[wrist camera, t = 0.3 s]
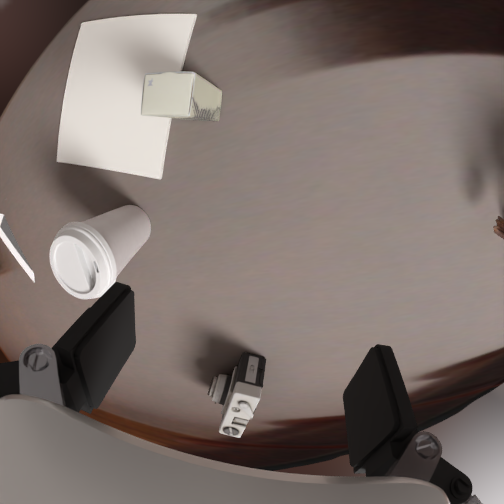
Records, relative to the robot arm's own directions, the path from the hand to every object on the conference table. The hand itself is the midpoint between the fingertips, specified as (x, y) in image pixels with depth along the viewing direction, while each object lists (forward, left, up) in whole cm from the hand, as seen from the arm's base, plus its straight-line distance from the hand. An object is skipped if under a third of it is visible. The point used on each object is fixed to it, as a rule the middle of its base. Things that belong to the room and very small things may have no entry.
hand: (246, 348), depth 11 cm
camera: (+35, +1, -30) cm, 46 cm away
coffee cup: (+10, -20, -30) cm, 37 cm away
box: (-9, -12, -30) cm, 33 cm away
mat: (-10, -26, -30) cm, 40 cm away
